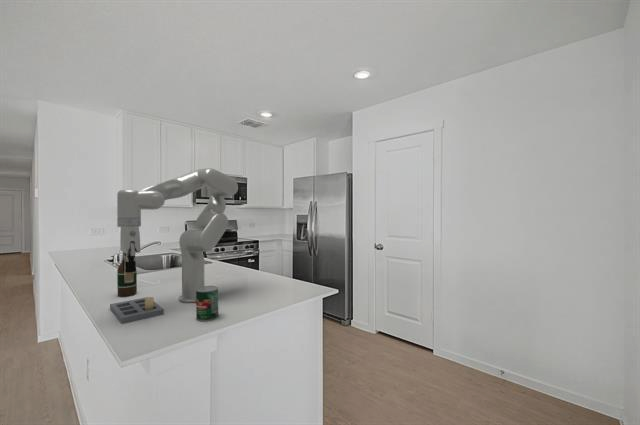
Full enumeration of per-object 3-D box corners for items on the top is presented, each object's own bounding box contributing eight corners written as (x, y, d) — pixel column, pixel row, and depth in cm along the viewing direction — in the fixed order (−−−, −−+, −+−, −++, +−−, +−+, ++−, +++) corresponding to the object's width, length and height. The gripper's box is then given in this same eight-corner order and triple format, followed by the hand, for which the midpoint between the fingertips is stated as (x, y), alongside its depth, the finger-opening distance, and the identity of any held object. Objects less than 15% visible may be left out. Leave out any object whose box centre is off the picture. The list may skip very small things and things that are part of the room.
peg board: (163, 314, 116) (163, 298, 116) (121, 323, 106) (121, 307, 106) (148, 301, 132) (148, 288, 132) (110, 309, 122) (109, 294, 122)
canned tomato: (220, 313, 117) (220, 285, 117) (216, 320, 109) (216, 290, 109) (199, 314, 116) (199, 286, 116) (193, 321, 108) (193, 291, 108)
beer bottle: (140, 293, 145) (140, 244, 144) (125, 298, 137) (125, 246, 137) (128, 292, 147) (128, 243, 147) (113, 296, 140) (112, 245, 139)
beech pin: (134, 282, 112) (134, 255, 112) (125, 283, 110) (125, 256, 110) (132, 280, 114) (132, 254, 114) (123, 282, 112) (123, 255, 112)
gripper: (146, 223, 109) (146, 273, 109) (135, 221, 121) (135, 267, 121) (122, 223, 104) (122, 276, 104) (113, 222, 116) (113, 269, 116)
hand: (129, 270), depth 112 cm, fingers closed on beech pin, 3 cm apart
